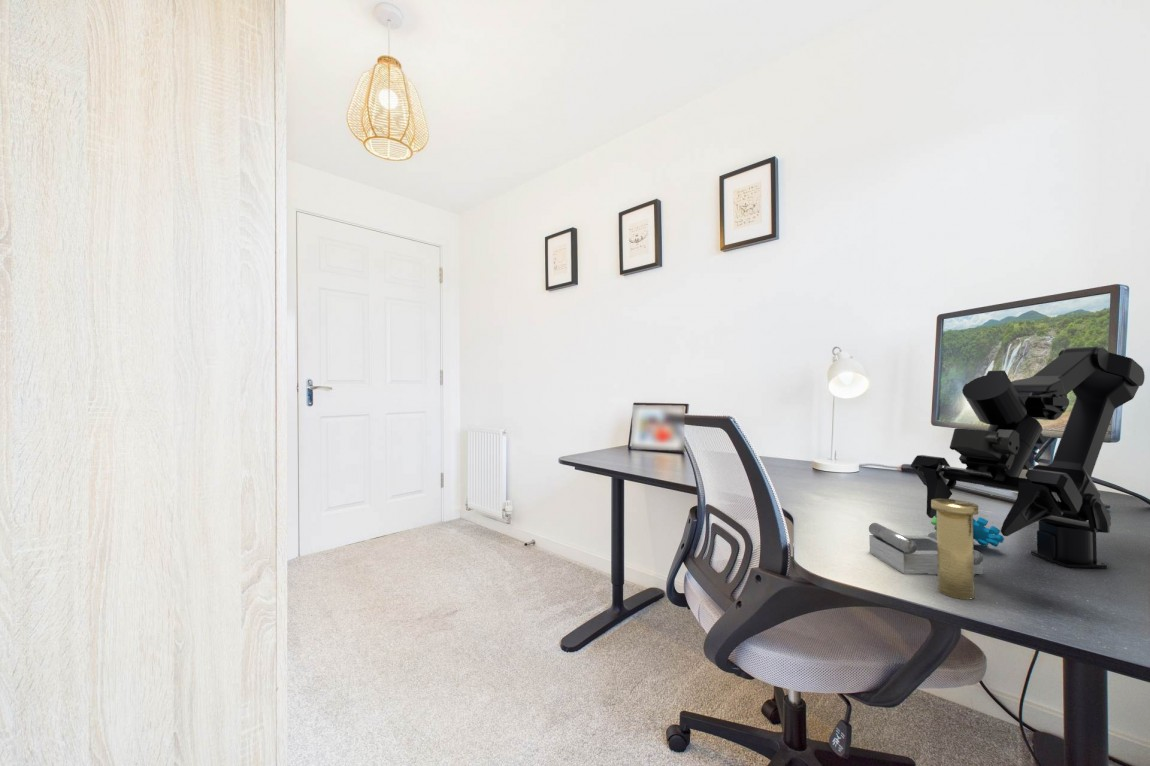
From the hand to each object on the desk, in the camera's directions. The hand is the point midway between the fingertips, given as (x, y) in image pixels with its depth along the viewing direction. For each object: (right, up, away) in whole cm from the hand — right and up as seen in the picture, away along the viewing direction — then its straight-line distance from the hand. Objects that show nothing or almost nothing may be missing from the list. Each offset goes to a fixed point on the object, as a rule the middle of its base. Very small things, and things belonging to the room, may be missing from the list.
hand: (963, 524), depth 65 cm
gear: (+16, -10, +18) cm, 26 cm away
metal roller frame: (+2, -10, +10) cm, 14 cm away
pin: (-2, -10, -1) cm, 10 cm away
